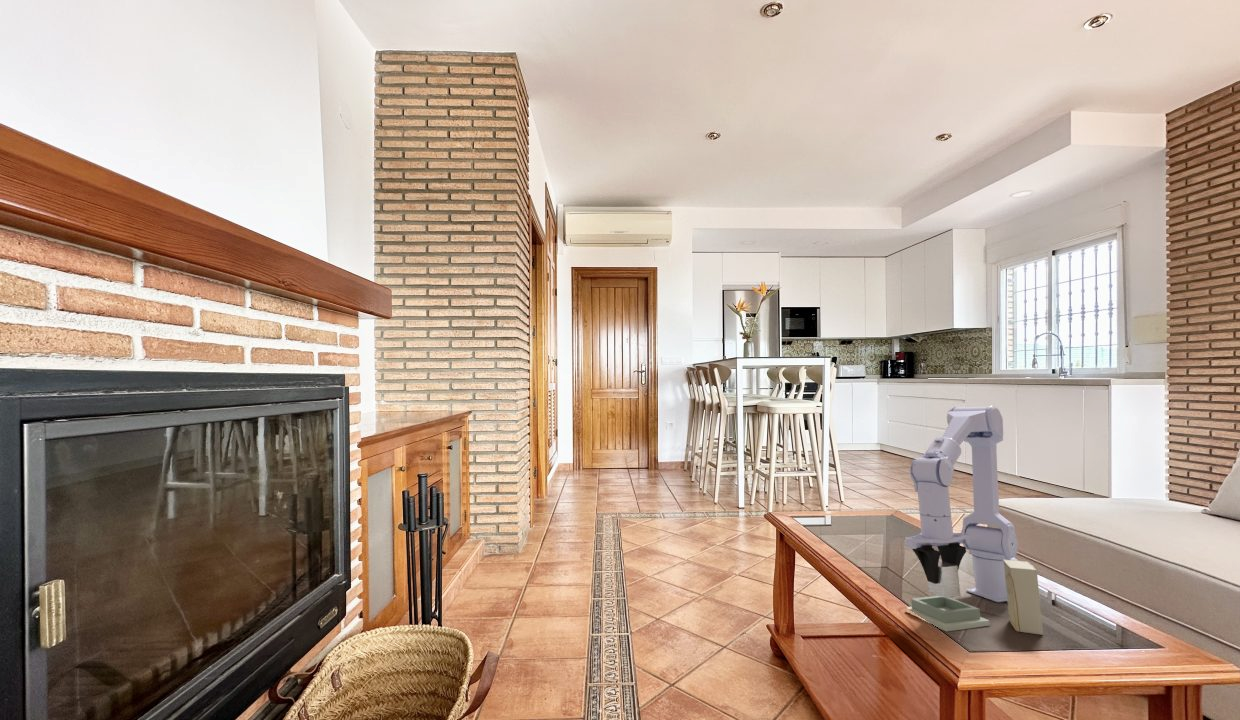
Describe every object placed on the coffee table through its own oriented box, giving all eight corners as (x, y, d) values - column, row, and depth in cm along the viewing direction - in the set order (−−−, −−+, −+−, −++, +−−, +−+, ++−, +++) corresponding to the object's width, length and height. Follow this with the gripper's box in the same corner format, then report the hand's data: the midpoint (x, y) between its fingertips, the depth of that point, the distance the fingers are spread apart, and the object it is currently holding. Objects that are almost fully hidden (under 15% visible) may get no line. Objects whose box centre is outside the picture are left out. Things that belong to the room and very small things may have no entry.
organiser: (945, 607, 110) (943, 592, 110) (989, 625, 100) (987, 609, 100) (904, 612, 108) (903, 597, 108) (946, 631, 98) (944, 615, 98)
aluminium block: (944, 589, 107) (941, 560, 107) (960, 596, 103) (957, 565, 103) (928, 591, 106) (925, 562, 106) (944, 597, 102) (941, 567, 103)
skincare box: (1008, 620, 102) (1001, 558, 104) (1036, 624, 100) (1028, 561, 102) (1016, 632, 97) (1008, 566, 98) (1045, 636, 95) (1037, 569, 96)
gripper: (947, 509, 112) (954, 572, 110) (892, 513, 109) (898, 578, 107) (976, 515, 105) (983, 582, 103) (917, 519, 102) (924, 589, 100)
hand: (941, 581), depth 105 cm, fingers closed on aluminium block, 4 cm apart
